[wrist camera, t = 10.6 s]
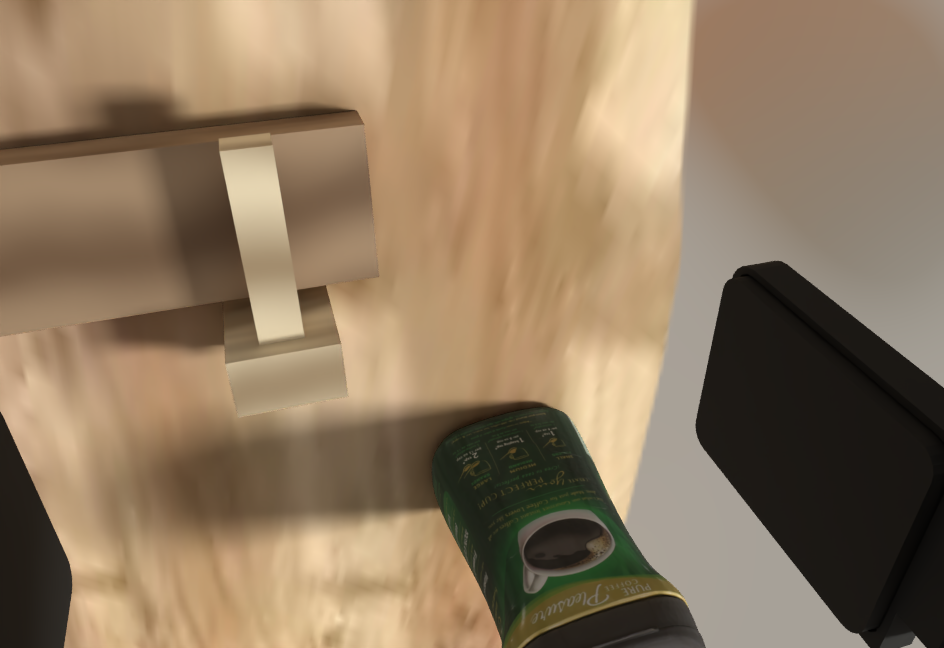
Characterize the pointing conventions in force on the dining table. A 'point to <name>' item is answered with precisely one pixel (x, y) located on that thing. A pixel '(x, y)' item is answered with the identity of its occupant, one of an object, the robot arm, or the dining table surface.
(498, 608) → the coffee jar
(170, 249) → the walnut board
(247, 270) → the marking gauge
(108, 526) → the dining table surface
